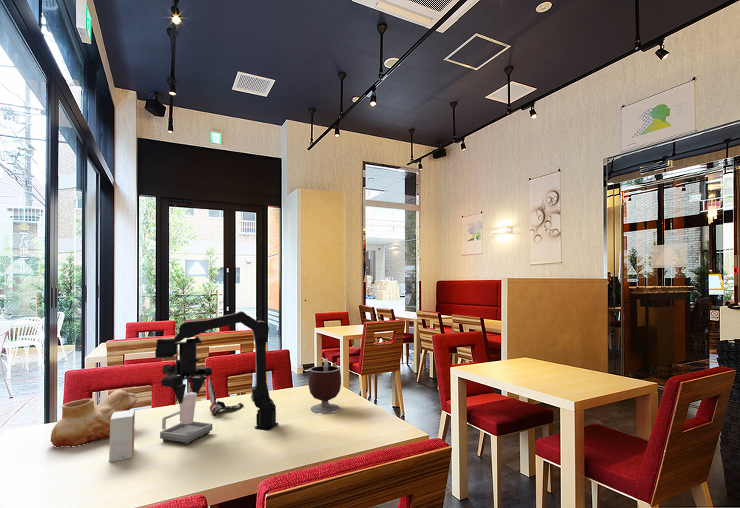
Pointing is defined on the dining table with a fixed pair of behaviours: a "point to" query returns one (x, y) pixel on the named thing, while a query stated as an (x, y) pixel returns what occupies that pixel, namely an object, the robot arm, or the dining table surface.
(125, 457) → the small box
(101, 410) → the ceramic vessel
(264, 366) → the robot arm
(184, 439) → the grey tray
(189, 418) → the smoothie
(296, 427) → the dining table surface
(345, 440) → the dining table surface
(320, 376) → the mate gourd
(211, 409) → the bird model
